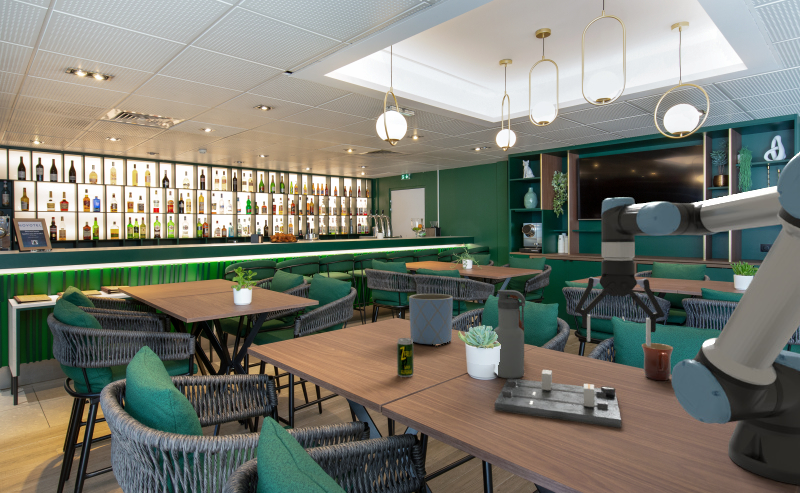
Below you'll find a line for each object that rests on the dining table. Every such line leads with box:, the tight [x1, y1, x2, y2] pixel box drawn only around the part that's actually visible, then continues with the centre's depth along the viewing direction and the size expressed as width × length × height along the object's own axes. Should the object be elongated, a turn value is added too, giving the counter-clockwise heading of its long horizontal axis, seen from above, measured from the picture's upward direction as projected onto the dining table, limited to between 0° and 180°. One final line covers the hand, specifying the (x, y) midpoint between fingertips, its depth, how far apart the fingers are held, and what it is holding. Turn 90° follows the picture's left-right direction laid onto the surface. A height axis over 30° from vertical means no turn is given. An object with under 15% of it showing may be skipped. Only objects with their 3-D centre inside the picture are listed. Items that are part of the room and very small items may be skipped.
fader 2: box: [583, 383, 595, 407], centre depth 115 cm, size 4×2×5 cm, turn 158°
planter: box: [408, 293, 454, 346], centre depth 194 cm, size 19×19×20 cm
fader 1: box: [541, 369, 553, 390], centre depth 127 cm, size 4×2×5 cm, turn 158°
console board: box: [494, 378, 622, 429], centre depth 122 cm, size 22×30×4 cm
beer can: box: [396, 337, 415, 378], centre depth 147 cm, size 5×5×12 cm
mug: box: [641, 342, 674, 381], centre depth 141 cm, size 12×9×10 cm
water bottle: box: [493, 289, 526, 380], centre depth 147 cm, size 10×10×28 cm
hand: (617, 342), depth 113 cm, fingers open, 13 cm apart
